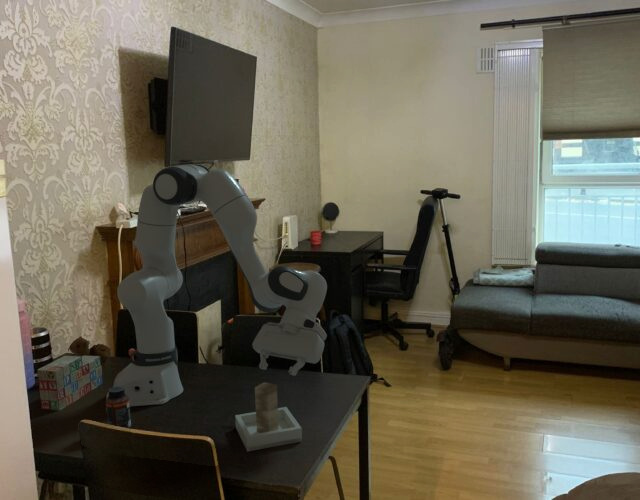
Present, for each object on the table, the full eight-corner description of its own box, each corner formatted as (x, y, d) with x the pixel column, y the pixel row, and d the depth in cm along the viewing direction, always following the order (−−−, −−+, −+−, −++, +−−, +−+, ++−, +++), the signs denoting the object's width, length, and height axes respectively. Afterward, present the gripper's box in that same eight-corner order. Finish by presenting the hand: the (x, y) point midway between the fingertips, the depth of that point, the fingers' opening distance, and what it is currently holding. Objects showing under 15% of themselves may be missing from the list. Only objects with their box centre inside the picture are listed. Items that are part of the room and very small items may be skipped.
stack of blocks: (86, 382, 199) (83, 346, 197) (103, 383, 198) (100, 347, 196) (41, 409, 179) (36, 369, 177) (59, 411, 177) (55, 370, 175)
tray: (247, 451, 150) (246, 437, 149) (235, 427, 163) (235, 415, 162) (302, 441, 154) (301, 428, 154) (286, 419, 167) (286, 406, 167)
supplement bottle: (136, 427, 165) (133, 387, 163) (118, 436, 160) (114, 395, 158) (121, 422, 168) (118, 383, 166) (103, 431, 163) (99, 390, 161)
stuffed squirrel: (62, 375, 206) (59, 337, 204) (104, 365, 215) (101, 328, 213) (73, 383, 198) (69, 344, 196) (115, 372, 207) (112, 335, 205)
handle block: (256, 432, 158) (254, 387, 156) (266, 425, 161) (264, 382, 159) (269, 435, 156) (267, 390, 154) (278, 429, 159) (276, 384, 157)
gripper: (260, 315, 171) (239, 359, 164) (323, 324, 160) (304, 372, 154) (270, 326, 175) (250, 370, 169) (332, 336, 165) (314, 383, 158)
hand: (276, 371), depth 161 cm, fingers open, 8 cm apart
